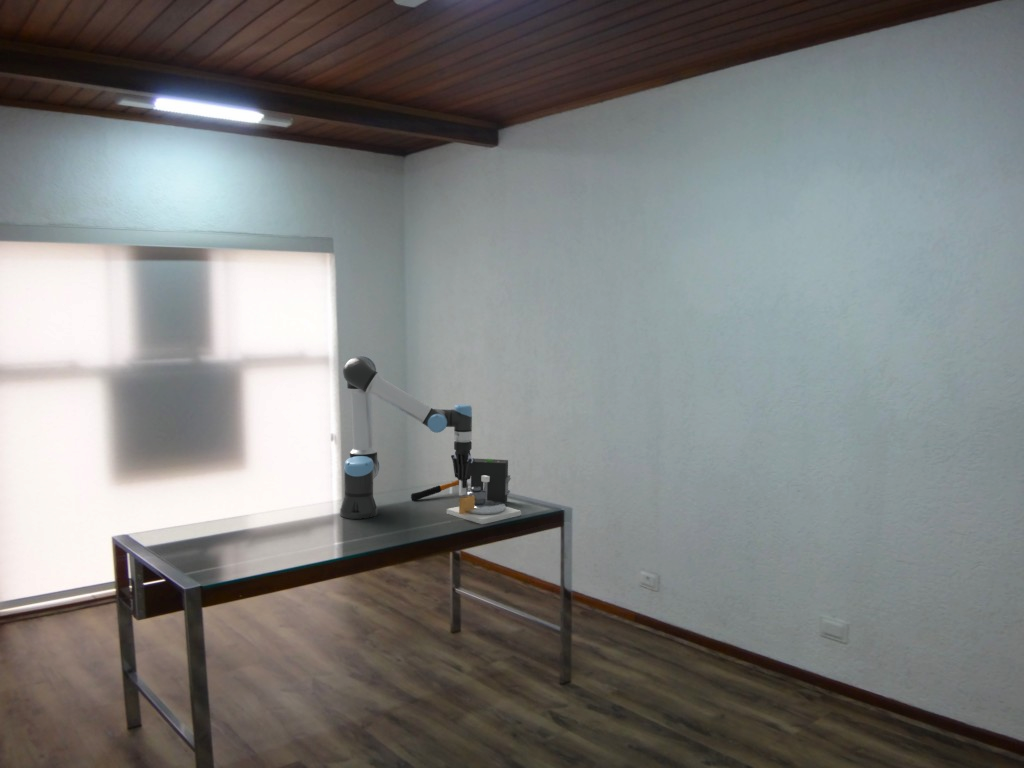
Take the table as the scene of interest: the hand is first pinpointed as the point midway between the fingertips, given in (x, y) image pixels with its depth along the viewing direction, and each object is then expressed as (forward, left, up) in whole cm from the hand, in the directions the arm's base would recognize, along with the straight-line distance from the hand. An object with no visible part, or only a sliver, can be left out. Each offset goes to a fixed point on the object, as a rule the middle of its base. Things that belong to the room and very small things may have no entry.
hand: (462, 494), depth 349 cm
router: (0, +16, -6) cm, 17 cm away
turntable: (+14, -2, -4) cm, 15 cm away
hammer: (-23, +6, -6) cm, 24 cm away
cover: (+9, 0, -2) cm, 9 cm away
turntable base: (+14, 0, -6) cm, 15 cm away
